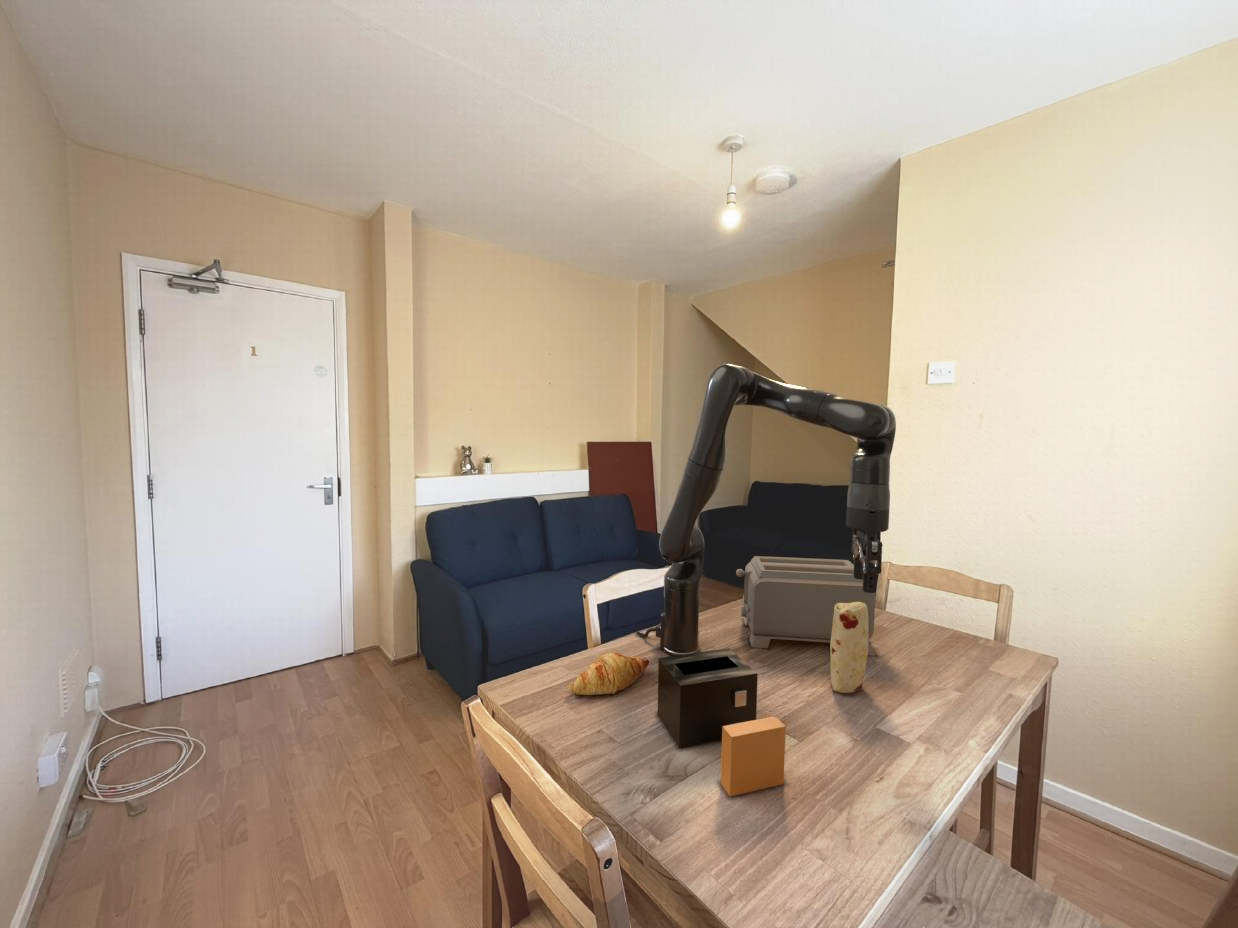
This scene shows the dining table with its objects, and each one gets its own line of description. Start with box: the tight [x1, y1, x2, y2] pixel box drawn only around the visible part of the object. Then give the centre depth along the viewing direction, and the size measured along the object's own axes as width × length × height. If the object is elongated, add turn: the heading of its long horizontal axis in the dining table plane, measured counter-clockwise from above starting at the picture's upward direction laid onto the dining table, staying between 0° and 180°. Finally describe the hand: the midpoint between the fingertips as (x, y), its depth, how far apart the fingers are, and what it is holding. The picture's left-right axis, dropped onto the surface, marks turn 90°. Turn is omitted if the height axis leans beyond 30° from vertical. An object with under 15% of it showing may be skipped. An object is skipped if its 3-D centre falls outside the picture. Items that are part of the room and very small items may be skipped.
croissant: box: [568, 652, 650, 696], centre depth 111 cm, size 21×10×8 cm, turn 125°
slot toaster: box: [657, 647, 759, 749], centre depth 95 cm, size 12×16×12 cm
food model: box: [829, 602, 869, 694], centre depth 109 cm, size 10×7×20 cm
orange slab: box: [720, 715, 787, 797], centre depth 80 cm, size 3×10×10 cm, turn 107°
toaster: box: [735, 555, 877, 657], centre depth 137 cm, size 19×35×20 cm, turn 82°
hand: (864, 585), depth 97 cm, fingers open, 8 cm apart
